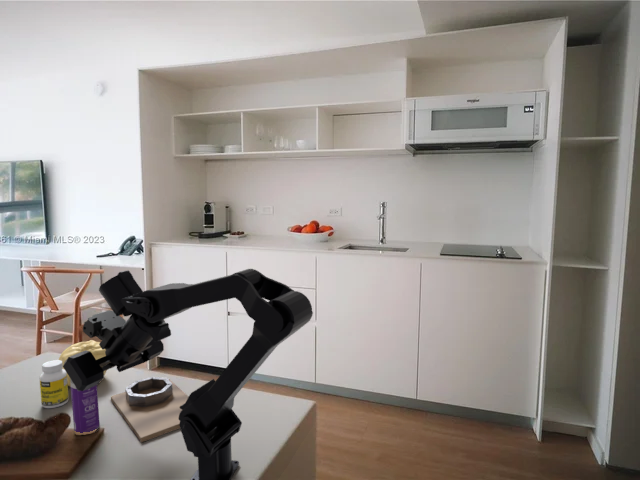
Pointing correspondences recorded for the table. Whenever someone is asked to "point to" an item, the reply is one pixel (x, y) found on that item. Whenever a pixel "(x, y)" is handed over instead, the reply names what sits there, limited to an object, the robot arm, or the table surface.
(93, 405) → the container
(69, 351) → the sculpture
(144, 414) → the wooden board
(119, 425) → the table surface
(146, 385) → the iron collar
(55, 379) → the supplement bottle
